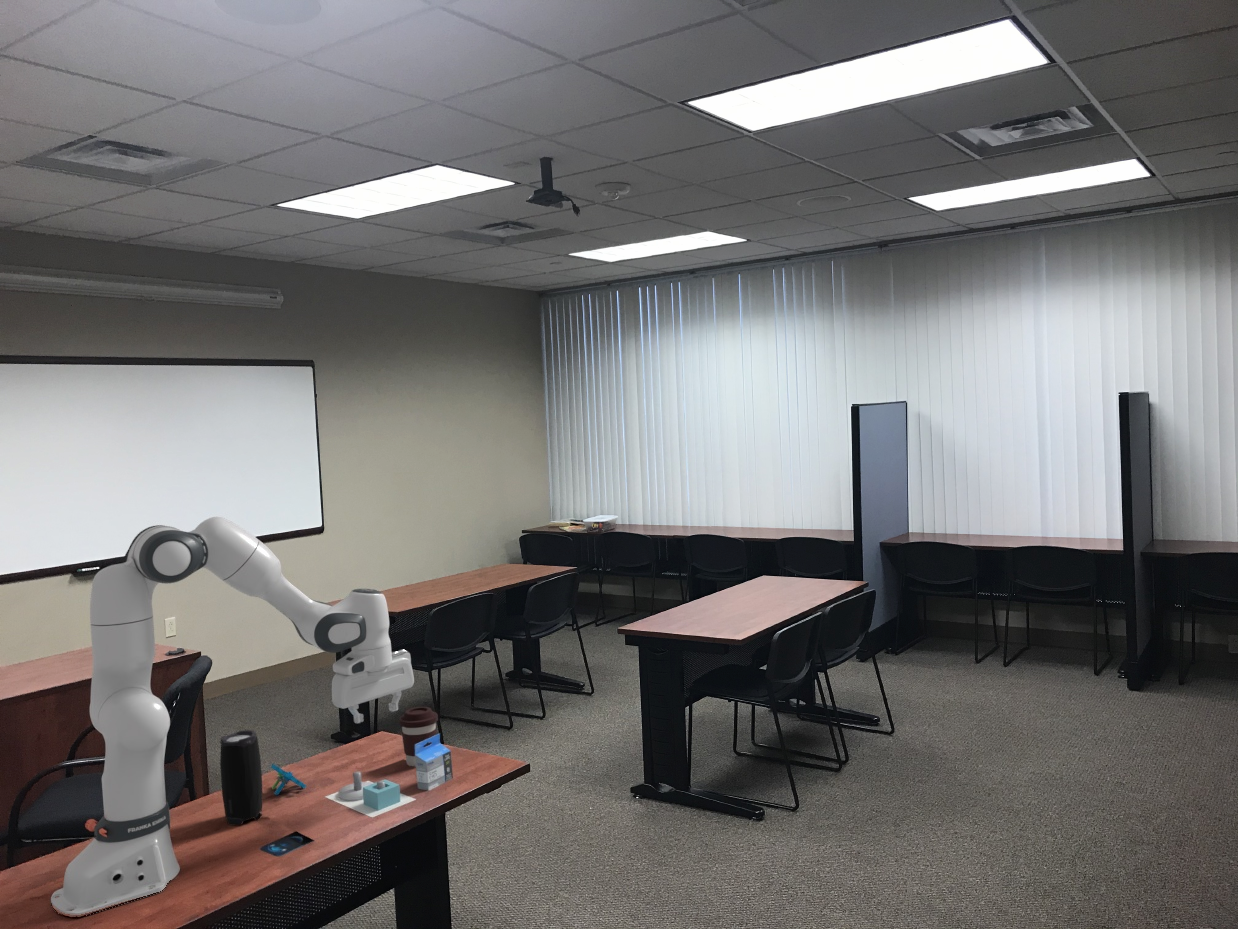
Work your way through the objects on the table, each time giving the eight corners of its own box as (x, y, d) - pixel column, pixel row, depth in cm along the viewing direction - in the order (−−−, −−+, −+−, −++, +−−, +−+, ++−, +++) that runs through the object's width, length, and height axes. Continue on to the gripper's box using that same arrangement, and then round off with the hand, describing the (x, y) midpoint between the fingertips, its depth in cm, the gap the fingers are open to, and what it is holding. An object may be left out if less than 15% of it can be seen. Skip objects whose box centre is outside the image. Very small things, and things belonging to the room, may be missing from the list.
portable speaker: (250, 807, 218) (245, 726, 217) (272, 816, 212) (267, 733, 211) (216, 820, 211) (210, 737, 210) (237, 830, 205) (232, 744, 205)
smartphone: (257, 848, 195) (317, 821, 208) (257, 851, 195) (317, 823, 208) (278, 856, 191) (338, 828, 203) (279, 859, 191) (338, 831, 203)
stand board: (372, 824, 205) (370, 795, 205) (325, 803, 218) (323, 776, 218) (416, 805, 214) (414, 778, 214) (368, 786, 227) (366, 761, 227)
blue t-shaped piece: (312, 786, 225) (280, 764, 222) (297, 808, 222) (264, 786, 219) (300, 779, 234) (268, 758, 230) (285, 800, 231) (253, 780, 228)
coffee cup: (429, 757, 246) (426, 702, 246) (447, 766, 239) (444, 709, 238) (395, 767, 240) (392, 710, 239) (412, 777, 232) (409, 719, 232)
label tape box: (429, 797, 219) (426, 746, 218) (416, 794, 221) (413, 744, 220) (454, 784, 226) (451, 735, 226) (441, 781, 228) (438, 733, 228)
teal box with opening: (378, 810, 209) (377, 793, 208) (363, 804, 212) (362, 787, 212) (400, 801, 213) (399, 784, 213) (385, 795, 217) (384, 779, 217)
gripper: (401, 646, 221) (405, 702, 222) (325, 666, 206) (330, 726, 207) (417, 649, 217) (421, 706, 218) (341, 670, 202) (346, 731, 202)
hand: (376, 716), depth 212 cm, fingers open, 8 cm apart
